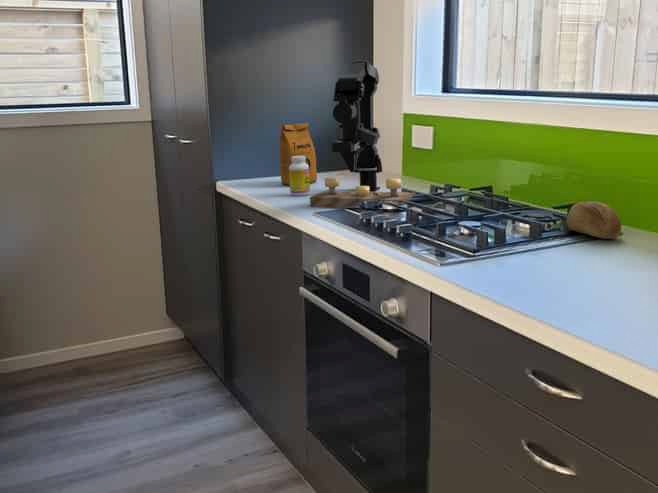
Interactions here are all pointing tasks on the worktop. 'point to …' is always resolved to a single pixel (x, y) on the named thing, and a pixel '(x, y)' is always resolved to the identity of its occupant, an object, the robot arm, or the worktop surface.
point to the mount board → (353, 198)
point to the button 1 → (332, 184)
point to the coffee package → (296, 150)
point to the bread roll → (594, 220)
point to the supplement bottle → (299, 177)
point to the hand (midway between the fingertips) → (352, 172)
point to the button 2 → (393, 186)
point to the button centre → (362, 190)
